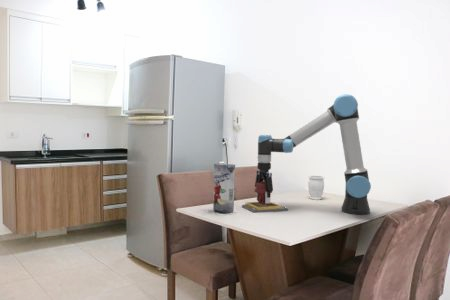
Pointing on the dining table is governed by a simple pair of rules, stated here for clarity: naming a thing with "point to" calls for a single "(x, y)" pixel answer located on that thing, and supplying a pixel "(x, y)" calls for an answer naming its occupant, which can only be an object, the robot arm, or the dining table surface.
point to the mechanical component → (261, 192)
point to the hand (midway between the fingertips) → (263, 201)
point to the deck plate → (263, 207)
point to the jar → (316, 187)
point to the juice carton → (224, 187)
